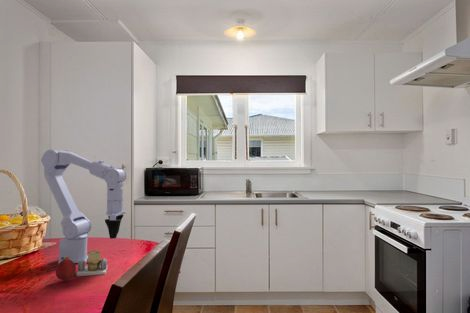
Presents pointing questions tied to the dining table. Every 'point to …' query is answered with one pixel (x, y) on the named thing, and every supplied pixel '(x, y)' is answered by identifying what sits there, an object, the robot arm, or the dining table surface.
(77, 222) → the robot arm
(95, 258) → the cylinder
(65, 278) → the onion
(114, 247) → the dining table surface
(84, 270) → the fitting
